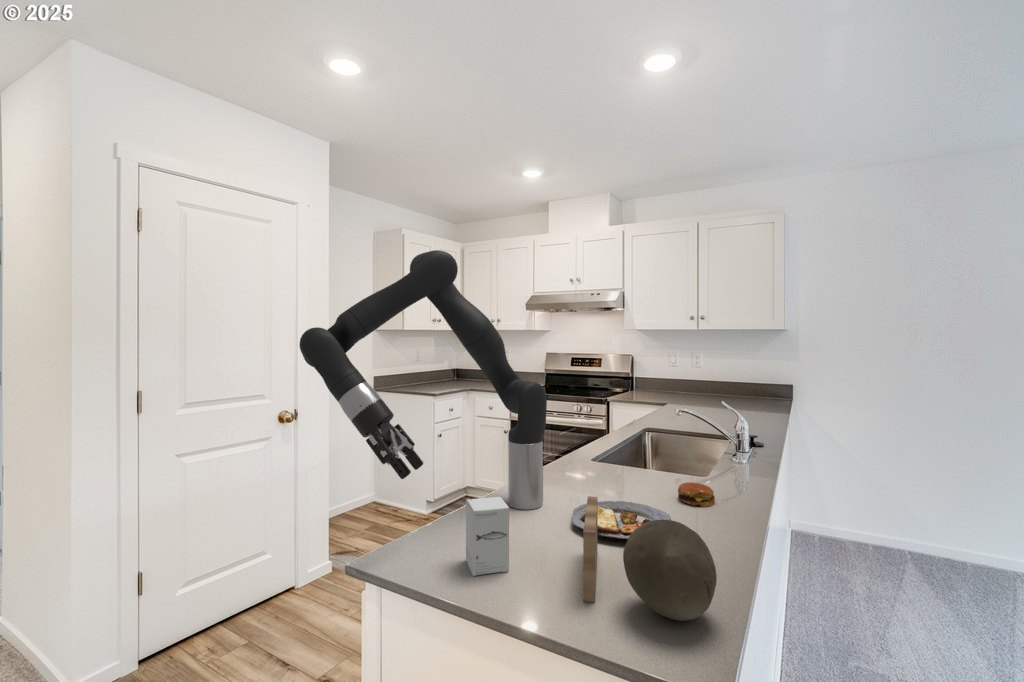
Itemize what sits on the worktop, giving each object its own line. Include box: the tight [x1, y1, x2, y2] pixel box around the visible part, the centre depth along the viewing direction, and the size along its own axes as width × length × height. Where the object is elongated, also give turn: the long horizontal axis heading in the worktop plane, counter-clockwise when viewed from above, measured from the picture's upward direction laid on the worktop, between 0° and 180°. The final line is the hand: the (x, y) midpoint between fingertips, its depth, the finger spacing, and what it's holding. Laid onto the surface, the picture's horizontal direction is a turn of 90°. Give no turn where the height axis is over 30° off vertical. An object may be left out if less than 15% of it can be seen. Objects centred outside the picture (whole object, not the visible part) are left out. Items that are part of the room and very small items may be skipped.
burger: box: [677, 482, 716, 508], centre depth 136 cm, size 10×9×5 cm
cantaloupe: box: [622, 519, 717, 622], centre depth 81 cm, size 14×14×15 cm
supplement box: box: [465, 496, 510, 577], centre depth 98 cm, size 7×7×13 cm
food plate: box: [571, 500, 672, 541], centre depth 119 cm, size 25×23×4 cm
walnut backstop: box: [582, 495, 599, 603], centre depth 94 cm, size 19×2×12 cm, turn 169°
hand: (413, 471), depth 101 cm, fingers open, 8 cm apart
